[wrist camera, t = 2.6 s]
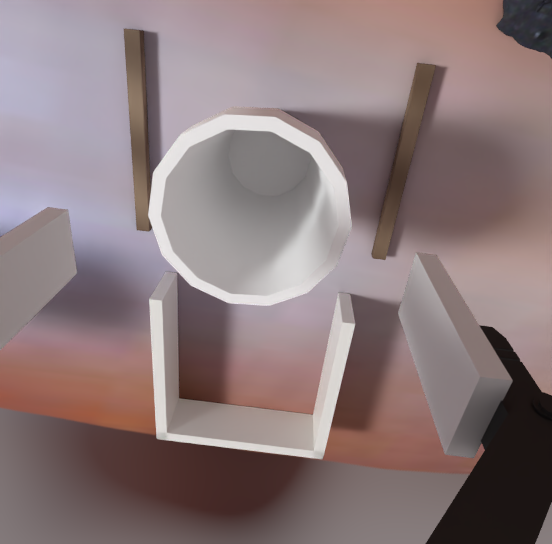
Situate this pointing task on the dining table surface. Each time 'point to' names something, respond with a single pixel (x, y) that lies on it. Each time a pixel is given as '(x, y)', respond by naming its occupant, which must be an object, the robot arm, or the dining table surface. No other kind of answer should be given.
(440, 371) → the robot arm
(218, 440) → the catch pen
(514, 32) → the dark slate chunk
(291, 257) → the foam cup
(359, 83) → the dining table surface
